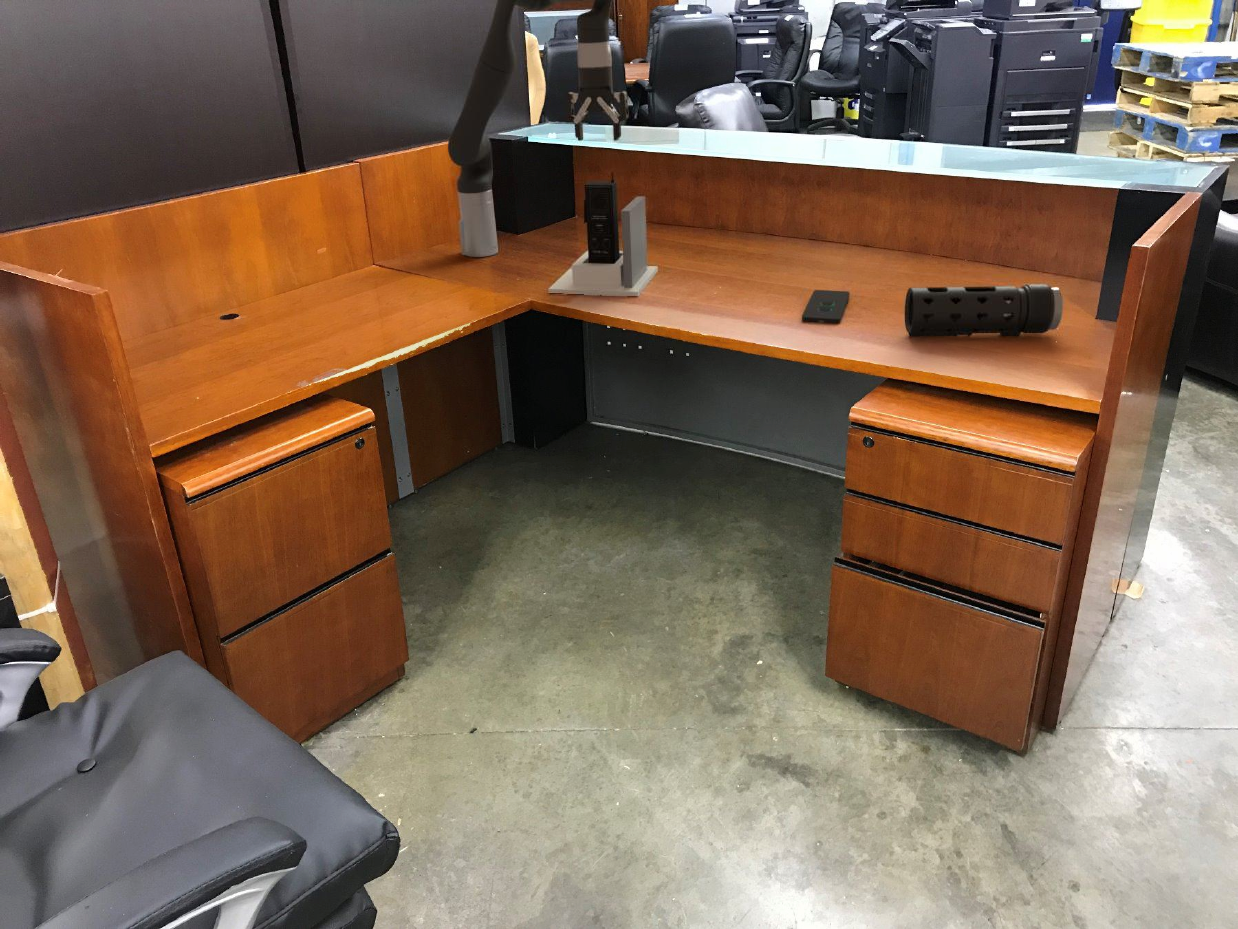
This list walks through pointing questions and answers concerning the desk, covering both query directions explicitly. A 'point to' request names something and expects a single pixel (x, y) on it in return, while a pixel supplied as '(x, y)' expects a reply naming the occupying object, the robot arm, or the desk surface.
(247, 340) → the desk surface
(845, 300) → the smart home device
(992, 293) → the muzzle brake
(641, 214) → the docking stand
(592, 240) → the portable radio
